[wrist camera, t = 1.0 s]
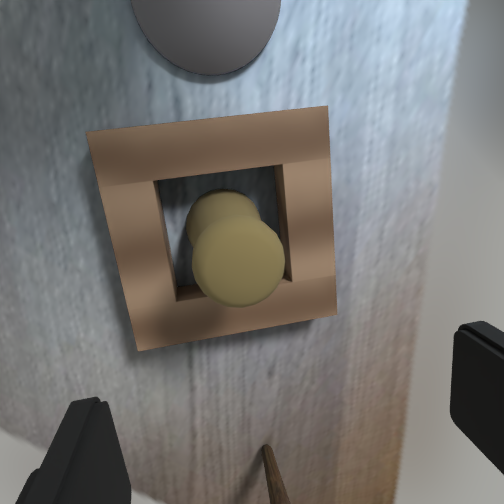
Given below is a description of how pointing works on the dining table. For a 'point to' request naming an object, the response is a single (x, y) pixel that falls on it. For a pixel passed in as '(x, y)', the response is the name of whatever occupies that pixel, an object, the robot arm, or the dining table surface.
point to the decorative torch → (273, 478)
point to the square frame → (212, 161)
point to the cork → (233, 249)
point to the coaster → (208, 31)
